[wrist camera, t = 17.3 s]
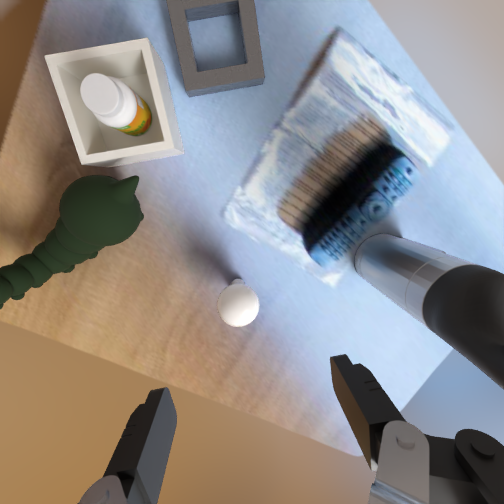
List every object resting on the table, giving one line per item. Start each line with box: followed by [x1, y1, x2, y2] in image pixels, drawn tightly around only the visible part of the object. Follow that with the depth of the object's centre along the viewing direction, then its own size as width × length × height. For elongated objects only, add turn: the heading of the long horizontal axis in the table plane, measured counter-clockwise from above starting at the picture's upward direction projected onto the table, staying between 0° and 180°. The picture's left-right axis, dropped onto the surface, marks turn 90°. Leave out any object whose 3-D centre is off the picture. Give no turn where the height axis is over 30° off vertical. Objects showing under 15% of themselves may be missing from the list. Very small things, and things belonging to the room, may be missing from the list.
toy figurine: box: [0, 175, 144, 309], centre depth 33 cm, size 9×19×25 cm
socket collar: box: [166, 0, 265, 97], centre depth 34 cm, size 11×11×2 cm
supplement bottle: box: [80, 73, 153, 136], centre depth 32 cm, size 5×5×10 cm
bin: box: [44, 38, 185, 168], centre depth 34 cm, size 12×12×7 cm
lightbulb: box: [217, 279, 259, 327], centre depth 40 cm, size 6×6×11 cm
